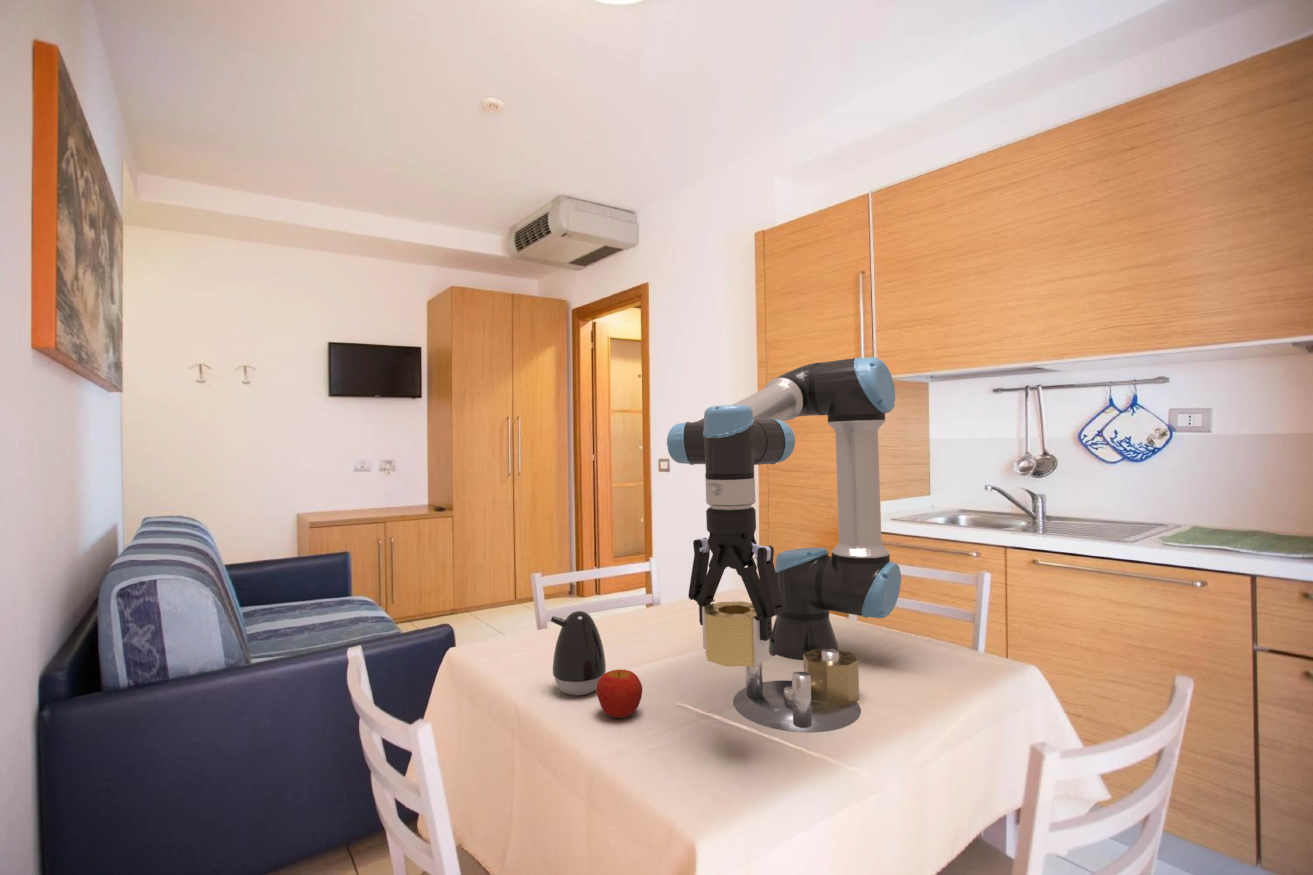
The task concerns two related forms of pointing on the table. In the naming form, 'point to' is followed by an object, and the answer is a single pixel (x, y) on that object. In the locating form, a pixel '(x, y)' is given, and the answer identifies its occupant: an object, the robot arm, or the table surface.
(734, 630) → the gear
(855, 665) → the seated gear
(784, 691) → the carrier
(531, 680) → the table surface
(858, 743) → the table surface
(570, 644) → the pump dispenser
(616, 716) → the apple
